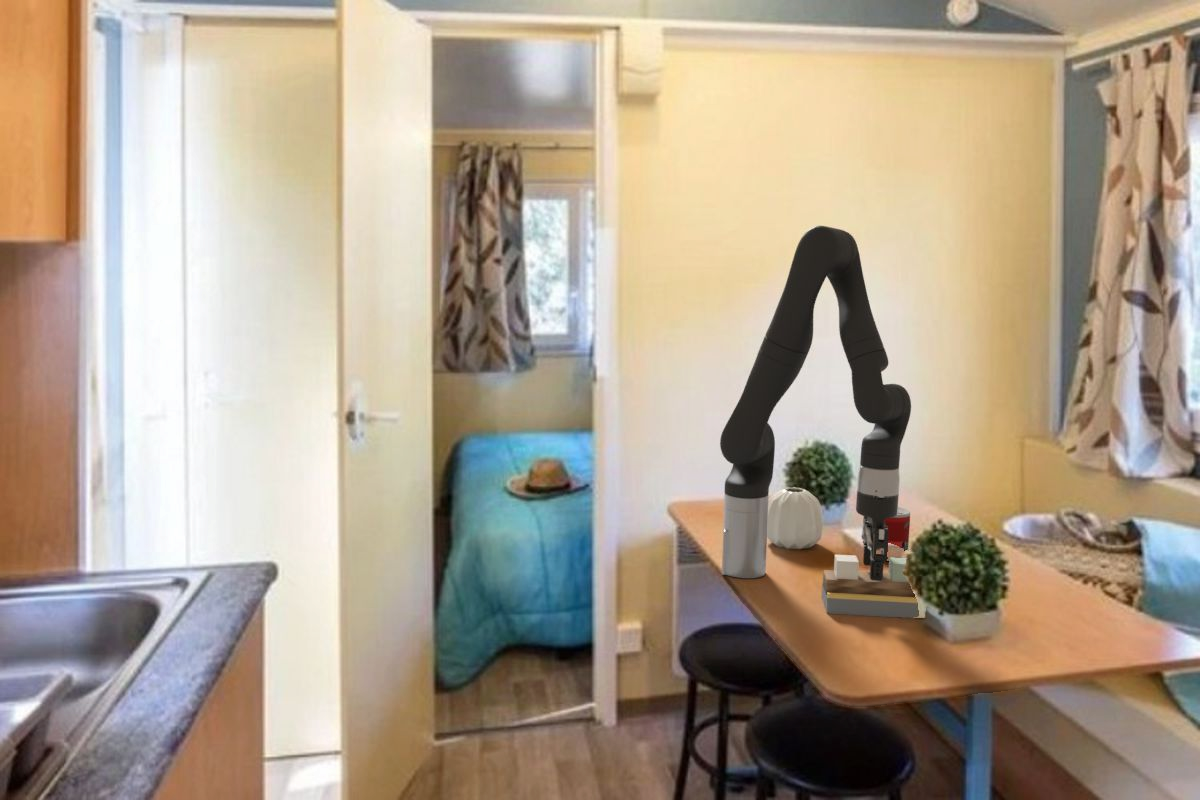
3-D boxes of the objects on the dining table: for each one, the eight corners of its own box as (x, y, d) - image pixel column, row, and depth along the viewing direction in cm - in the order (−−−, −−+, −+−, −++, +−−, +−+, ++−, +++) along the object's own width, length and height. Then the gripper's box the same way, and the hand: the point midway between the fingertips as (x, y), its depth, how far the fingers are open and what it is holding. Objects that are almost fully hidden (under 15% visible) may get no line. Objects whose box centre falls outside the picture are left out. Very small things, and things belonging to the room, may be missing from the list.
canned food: (909, 563, 198) (912, 515, 197) (872, 561, 200) (875, 513, 198) (905, 553, 206) (908, 507, 204) (869, 551, 207) (871, 505, 206)
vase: (751, 540, 215) (753, 486, 213) (798, 534, 221) (800, 481, 219) (786, 556, 202) (788, 499, 201) (835, 549, 208) (838, 493, 206)
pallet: (826, 594, 170) (826, 579, 169) (822, 584, 175) (823, 570, 175) (924, 600, 167) (925, 584, 167) (918, 590, 173) (918, 575, 172)
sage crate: (892, 581, 169) (893, 563, 168) (888, 574, 173) (889, 557, 172) (914, 582, 168) (915, 564, 168) (909, 575, 172) (910, 558, 172)
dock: (826, 613, 168) (827, 593, 168) (821, 596, 177) (822, 578, 177) (925, 619, 166) (927, 599, 166) (915, 601, 175) (916, 583, 174)
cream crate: (836, 578, 170) (837, 560, 169) (833, 571, 174) (834, 554, 173) (858, 579, 169) (858, 562, 169) (855, 573, 173) (855, 555, 173)
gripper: (852, 480, 176) (847, 559, 178) (862, 497, 162) (857, 583, 164) (891, 482, 175) (886, 561, 177) (905, 500, 161) (899, 586, 163)
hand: (872, 572), depth 171 cm, fingers open, 8 cm apart
